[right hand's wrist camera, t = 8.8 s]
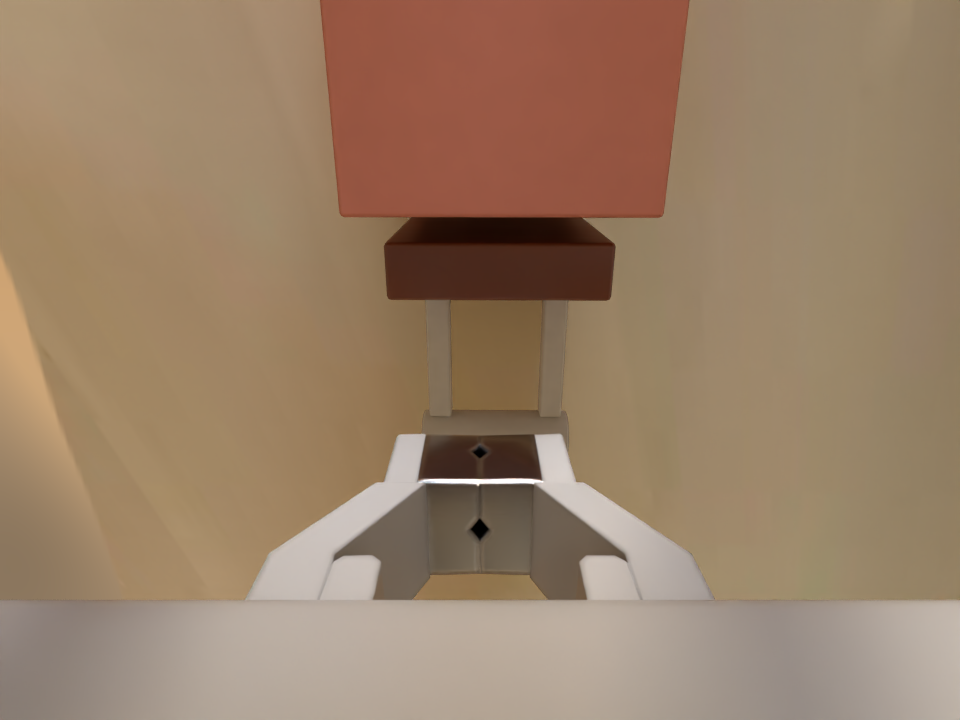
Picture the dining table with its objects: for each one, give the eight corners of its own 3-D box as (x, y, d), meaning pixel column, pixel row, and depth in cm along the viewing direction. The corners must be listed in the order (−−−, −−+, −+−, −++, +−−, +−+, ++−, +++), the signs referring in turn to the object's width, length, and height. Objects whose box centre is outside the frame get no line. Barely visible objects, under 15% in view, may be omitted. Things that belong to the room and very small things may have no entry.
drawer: (553, 377, 21) (592, 513, 13) (431, 377, 21) (400, 511, 13) (604, -540, 12) (787, -1614, 5) (399, -537, 12) (263, -1592, 5)
